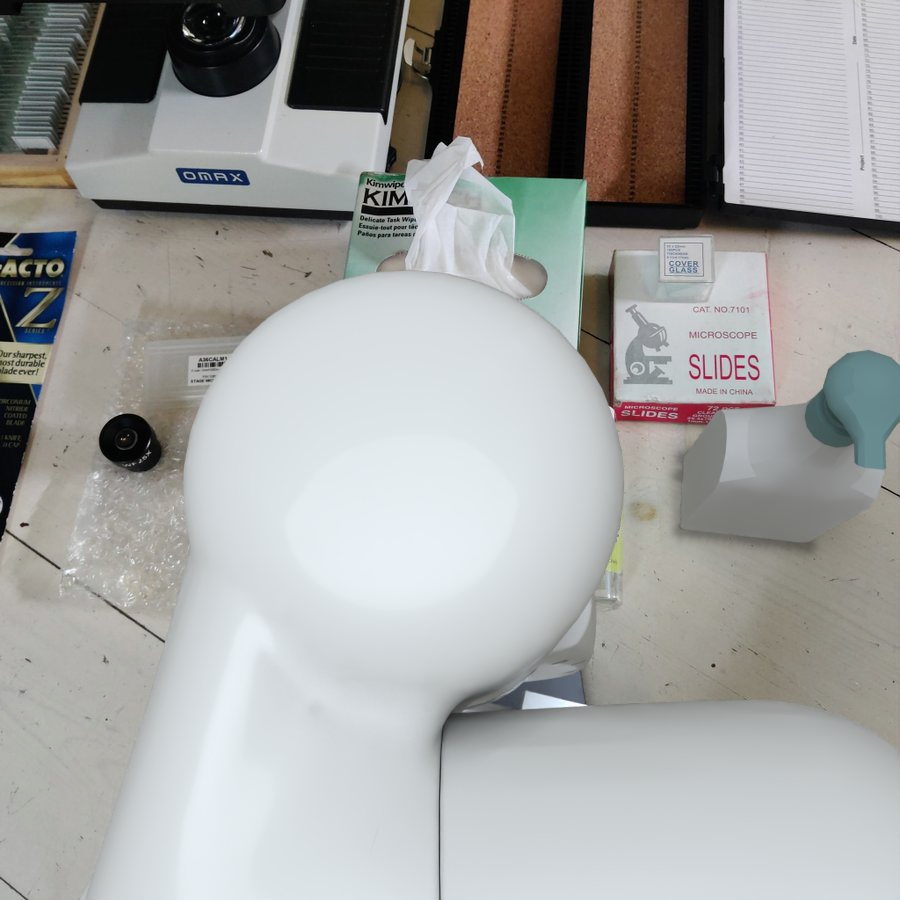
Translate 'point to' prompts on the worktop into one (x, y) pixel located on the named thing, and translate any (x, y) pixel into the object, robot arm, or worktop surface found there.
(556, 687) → the tap column
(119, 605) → the worktop surface
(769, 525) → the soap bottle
